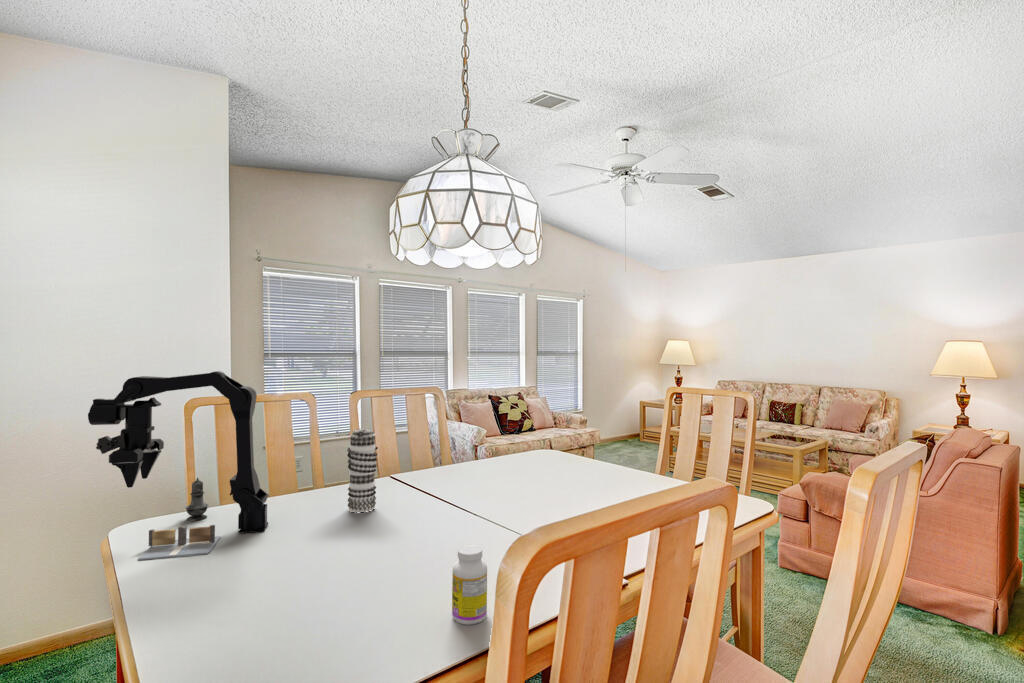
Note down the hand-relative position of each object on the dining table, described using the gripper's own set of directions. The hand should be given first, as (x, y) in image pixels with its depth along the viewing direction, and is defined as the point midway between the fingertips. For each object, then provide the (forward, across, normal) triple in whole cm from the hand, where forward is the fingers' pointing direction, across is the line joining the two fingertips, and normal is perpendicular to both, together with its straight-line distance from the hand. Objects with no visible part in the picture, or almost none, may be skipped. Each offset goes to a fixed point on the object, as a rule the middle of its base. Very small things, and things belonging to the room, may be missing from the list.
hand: (137, 482), depth 137 cm
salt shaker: (+15, -14, +10) cm, 23 cm away
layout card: (+15, +11, +14) cm, 23 cm away
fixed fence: (+15, +9, +17) cm, 24 cm away
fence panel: (+14, +9, +9) cm, 19 cm away
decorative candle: (+15, -11, +57) cm, 60 cm away
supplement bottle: (+15, +62, +77) cm, 100 cm away
